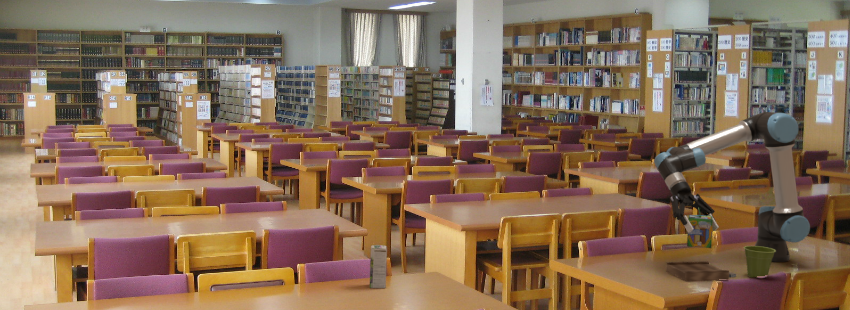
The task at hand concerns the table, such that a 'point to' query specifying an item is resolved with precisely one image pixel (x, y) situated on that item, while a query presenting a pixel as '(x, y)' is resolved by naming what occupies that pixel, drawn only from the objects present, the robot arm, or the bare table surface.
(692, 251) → the table surface
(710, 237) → the chalk box
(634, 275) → the table surface
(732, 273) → the grey stepped bar
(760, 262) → the plant pot
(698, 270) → the tray
